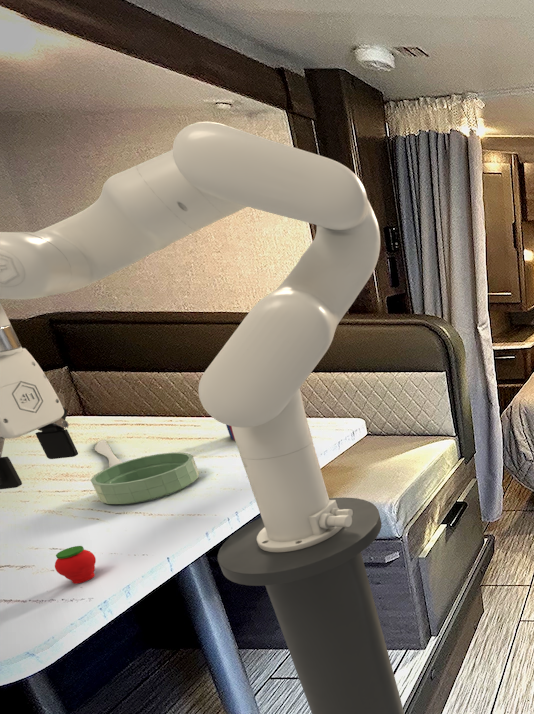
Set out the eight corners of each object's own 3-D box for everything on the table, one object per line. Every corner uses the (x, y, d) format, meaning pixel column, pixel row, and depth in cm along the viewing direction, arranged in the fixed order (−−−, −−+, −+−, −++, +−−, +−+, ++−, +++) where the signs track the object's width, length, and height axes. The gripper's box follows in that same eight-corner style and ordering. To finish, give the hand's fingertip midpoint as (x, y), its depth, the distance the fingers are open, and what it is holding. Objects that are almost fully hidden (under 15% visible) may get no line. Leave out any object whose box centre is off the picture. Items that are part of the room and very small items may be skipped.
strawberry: (110, 570, 73) (96, 543, 71) (82, 587, 69) (67, 559, 67) (85, 570, 73) (71, 543, 71) (56, 587, 69) (40, 559, 68)
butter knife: (105, 471, 103) (125, 466, 105) (91, 442, 119) (108, 438, 121) (107, 474, 103) (126, 468, 105) (92, 445, 119) (109, 440, 121)
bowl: (218, 472, 103) (210, 452, 101) (153, 507, 90) (143, 485, 88) (152, 472, 104) (144, 452, 102) (78, 507, 91) (67, 484, 89)
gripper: (-58, 357, 54) (18, 497, 60) (63, 330, 69) (113, 444, 76) (-153, 363, 52) (-64, 507, 58) (-7, 334, 67) (51, 450, 74)
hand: (36, 471), depth 67 cm, fingers open, 9 cm apart
